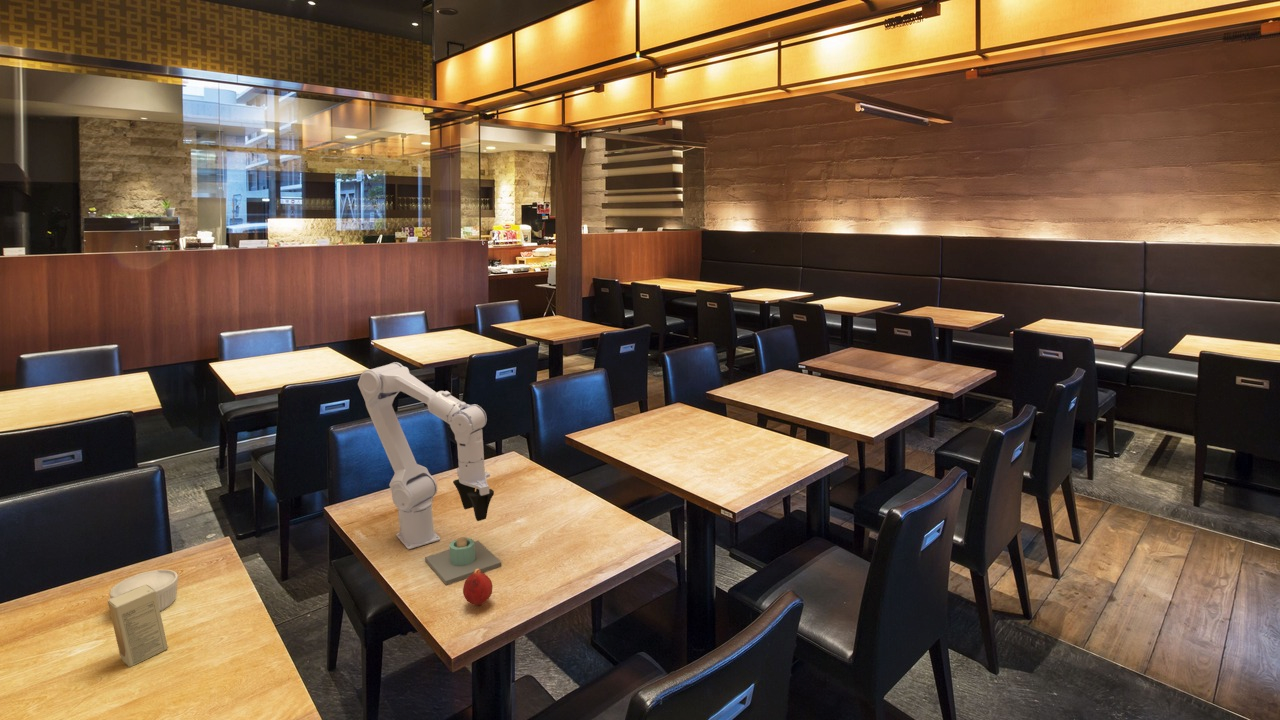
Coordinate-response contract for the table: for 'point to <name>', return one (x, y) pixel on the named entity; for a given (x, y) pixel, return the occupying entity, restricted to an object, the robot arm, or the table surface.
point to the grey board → (457, 573)
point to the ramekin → (151, 585)
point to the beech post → (461, 542)
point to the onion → (477, 588)
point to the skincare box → (137, 624)
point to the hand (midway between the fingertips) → (474, 513)
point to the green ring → (462, 553)
